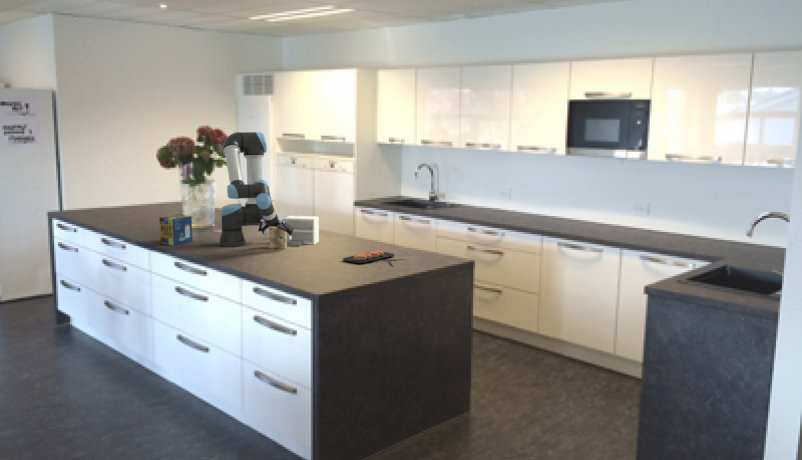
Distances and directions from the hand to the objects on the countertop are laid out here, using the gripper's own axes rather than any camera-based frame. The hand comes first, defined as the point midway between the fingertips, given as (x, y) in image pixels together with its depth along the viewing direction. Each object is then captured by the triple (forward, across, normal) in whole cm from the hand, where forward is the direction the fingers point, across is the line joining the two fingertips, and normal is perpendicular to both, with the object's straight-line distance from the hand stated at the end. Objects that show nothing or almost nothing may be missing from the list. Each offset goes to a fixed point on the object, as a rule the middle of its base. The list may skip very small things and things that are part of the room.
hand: (279, 237), depth 384 cm
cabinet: (+14, +8, +6) cm, 17 cm away
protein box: (+5, -63, -3) cm, 64 cm away
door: (+3, 0, -5) cm, 6 cm away
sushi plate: (-12, +63, -21) cm, 67 cm away
